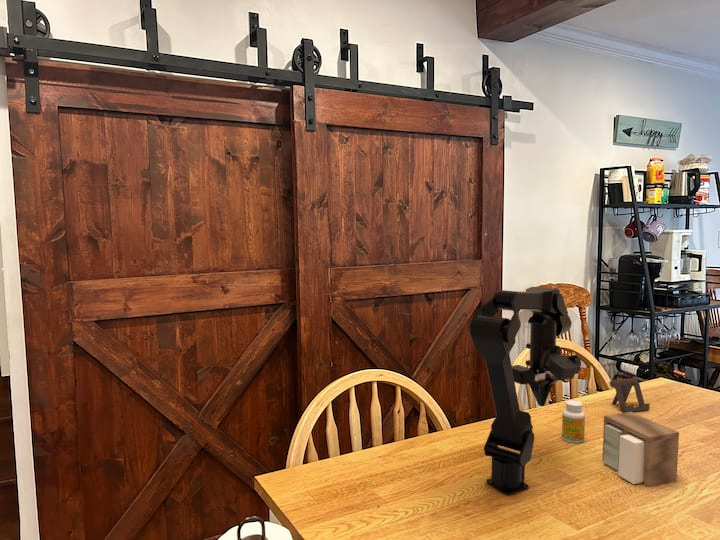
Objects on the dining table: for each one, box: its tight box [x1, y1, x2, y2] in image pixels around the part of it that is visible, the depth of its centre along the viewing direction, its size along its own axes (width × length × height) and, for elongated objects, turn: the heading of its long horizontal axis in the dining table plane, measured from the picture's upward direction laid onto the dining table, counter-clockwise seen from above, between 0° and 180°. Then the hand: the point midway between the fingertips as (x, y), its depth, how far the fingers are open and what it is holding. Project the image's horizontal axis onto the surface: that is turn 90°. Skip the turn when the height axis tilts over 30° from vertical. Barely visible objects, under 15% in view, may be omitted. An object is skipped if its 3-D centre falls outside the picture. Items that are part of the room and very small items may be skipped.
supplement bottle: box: [561, 399, 586, 444], centre depth 136 cm, size 5×5×10 cm
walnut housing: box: [602, 412, 680, 487], centre depth 119 cm, size 9×13×11 cm
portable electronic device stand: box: [609, 377, 650, 413], centre depth 159 cm, size 9×8×8 cm
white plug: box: [617, 434, 646, 485], centre depth 116 cm, size 12×4×9 cm, turn 108°
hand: (541, 405), depth 125 cm, fingers closed
